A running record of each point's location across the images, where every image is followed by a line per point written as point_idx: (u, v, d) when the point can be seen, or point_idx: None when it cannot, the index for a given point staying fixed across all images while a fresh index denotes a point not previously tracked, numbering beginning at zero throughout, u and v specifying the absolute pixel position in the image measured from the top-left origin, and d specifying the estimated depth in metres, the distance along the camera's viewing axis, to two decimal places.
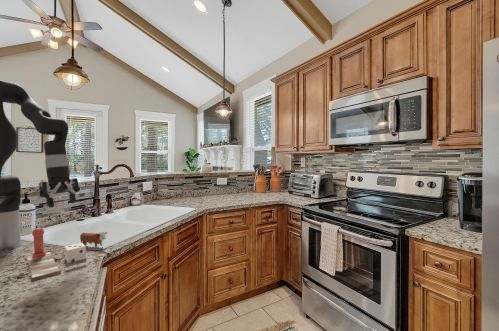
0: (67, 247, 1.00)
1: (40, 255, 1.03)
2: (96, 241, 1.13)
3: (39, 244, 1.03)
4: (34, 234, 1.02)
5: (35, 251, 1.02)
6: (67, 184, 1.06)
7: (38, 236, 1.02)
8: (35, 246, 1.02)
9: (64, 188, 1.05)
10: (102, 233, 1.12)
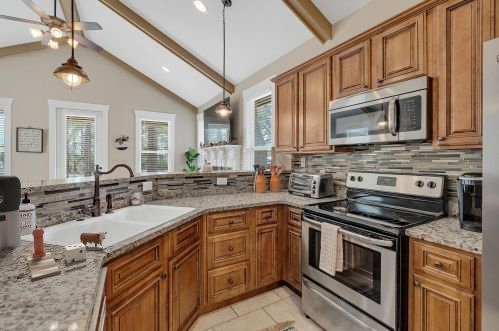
0: (67, 247, 1.00)
1: (40, 255, 1.03)
2: (96, 241, 1.13)
3: (39, 244, 1.03)
4: (34, 234, 1.02)
5: (35, 251, 1.02)
6: None
7: (38, 236, 1.02)
8: (35, 246, 1.02)
9: None
10: (102, 233, 1.12)
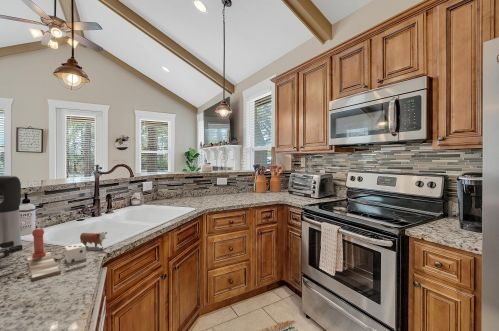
0: (67, 247, 1.00)
1: (40, 255, 1.03)
2: (96, 241, 1.13)
3: (39, 244, 1.03)
4: (34, 234, 1.02)
5: (35, 251, 1.02)
6: None
7: (38, 236, 1.02)
8: (35, 246, 1.02)
9: None
10: (102, 233, 1.12)
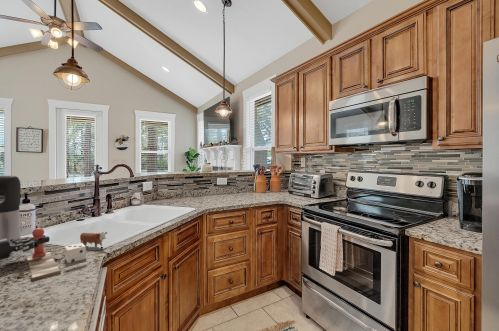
0: (67, 247, 1.00)
1: (40, 255, 1.03)
2: (96, 241, 1.13)
3: (39, 244, 1.03)
4: (34, 234, 1.02)
5: (35, 251, 1.02)
6: None
7: (38, 236, 1.02)
8: None
9: None
10: (102, 233, 1.12)
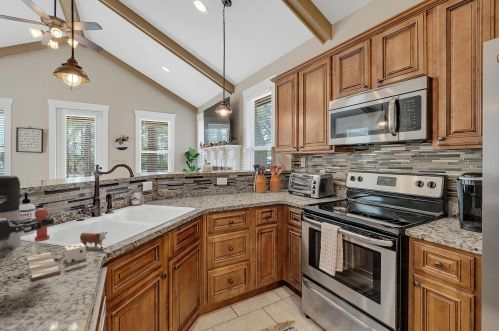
0: (67, 247, 1.00)
1: (43, 238, 0.91)
2: (96, 241, 1.13)
3: (42, 226, 0.92)
4: (37, 215, 0.91)
5: (38, 234, 0.91)
6: None
7: (41, 217, 0.91)
8: None
9: None
10: (102, 233, 1.12)
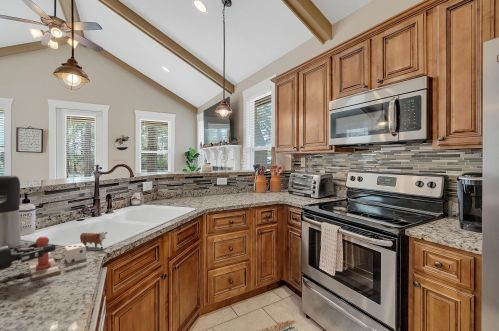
0: (67, 247, 1.00)
1: (45, 267, 0.92)
2: (96, 241, 1.13)
3: (44, 254, 0.92)
4: (38, 243, 0.91)
5: (39, 262, 0.92)
6: None
7: (42, 245, 0.92)
8: (39, 257, 0.92)
9: None
10: (102, 233, 1.12)
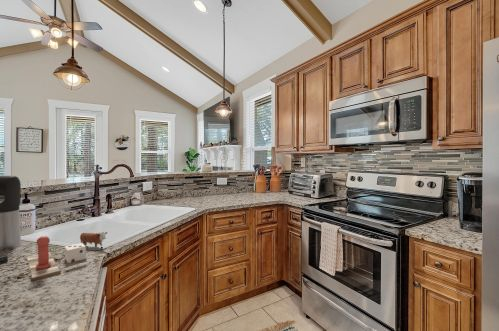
0: (67, 247, 1.00)
1: (45, 266, 0.92)
2: (96, 241, 1.13)
3: (44, 254, 0.92)
4: (39, 243, 0.91)
5: (39, 262, 0.92)
6: None
7: (43, 245, 0.92)
8: (39, 256, 0.92)
9: None
10: (102, 233, 1.12)
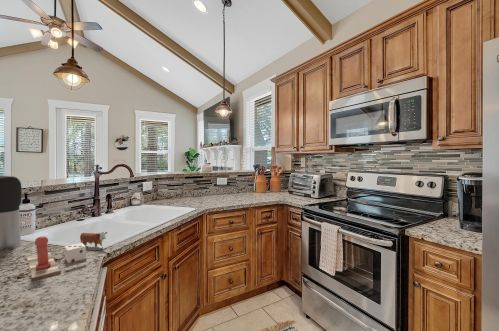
0: (67, 247, 1.00)
1: (44, 266, 0.92)
2: (96, 241, 1.13)
3: (43, 254, 0.92)
4: (37, 243, 0.91)
5: (39, 262, 0.92)
6: None
7: (41, 245, 0.92)
8: (38, 256, 0.92)
9: None
10: (102, 233, 1.12)
